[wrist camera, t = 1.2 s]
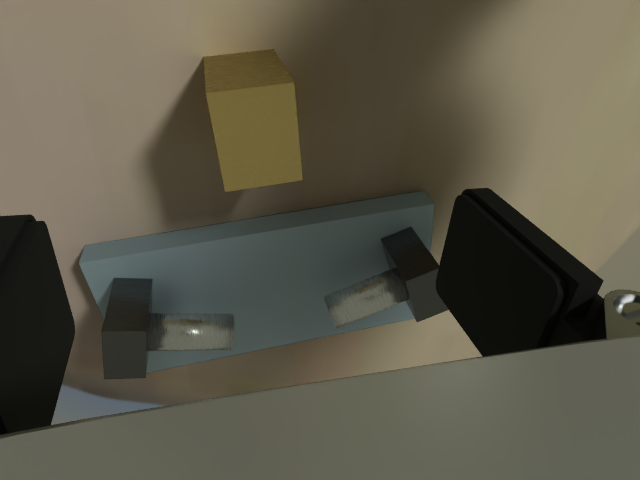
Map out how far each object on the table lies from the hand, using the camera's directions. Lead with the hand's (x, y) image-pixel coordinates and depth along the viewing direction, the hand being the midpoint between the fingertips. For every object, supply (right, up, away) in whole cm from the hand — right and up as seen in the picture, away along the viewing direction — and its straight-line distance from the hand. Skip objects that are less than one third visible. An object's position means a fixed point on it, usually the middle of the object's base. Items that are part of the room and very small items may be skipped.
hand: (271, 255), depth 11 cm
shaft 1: (-9, -4, +22) cm, 24 cm away
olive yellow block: (-3, +9, +17) cm, 20 cm away
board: (-2, -2, +25) cm, 25 cm away
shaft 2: (+5, -2, +24) cm, 24 cm away
